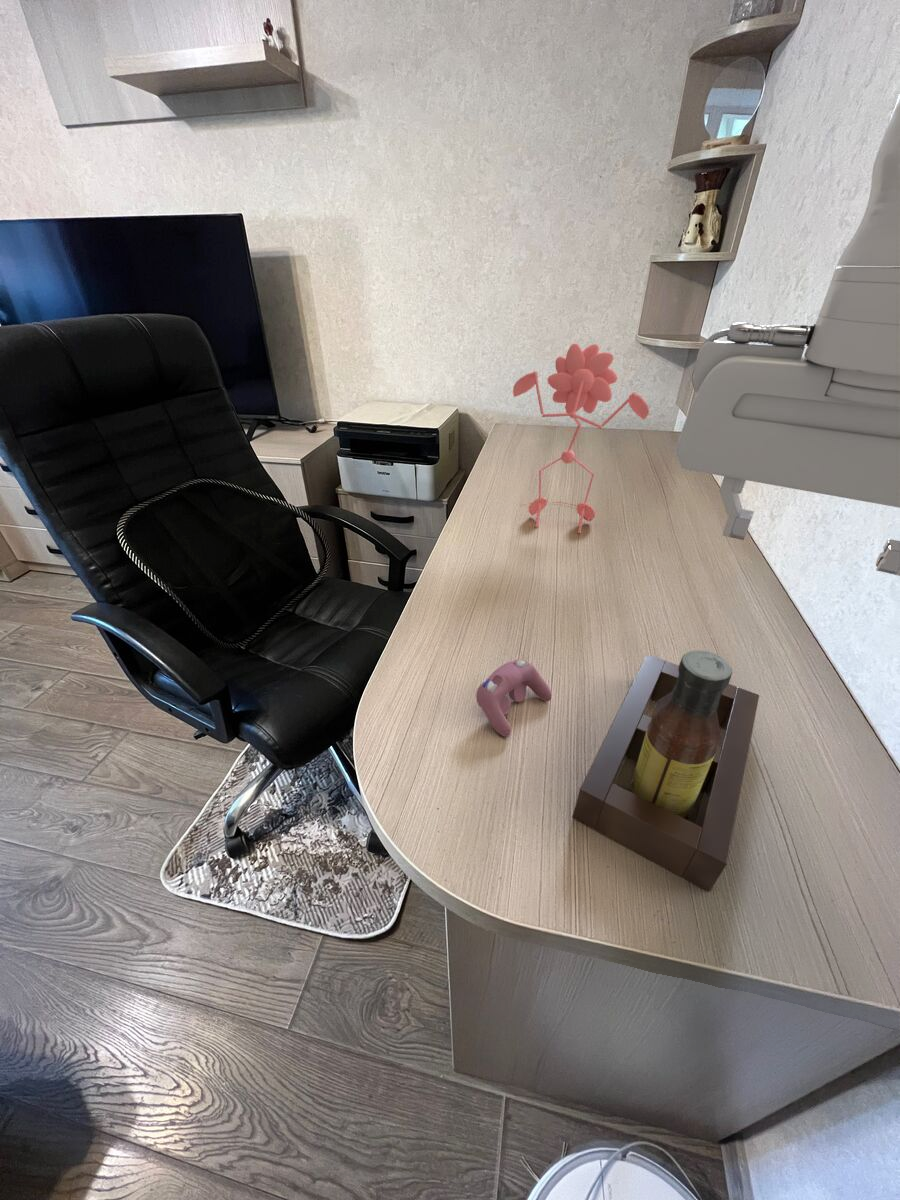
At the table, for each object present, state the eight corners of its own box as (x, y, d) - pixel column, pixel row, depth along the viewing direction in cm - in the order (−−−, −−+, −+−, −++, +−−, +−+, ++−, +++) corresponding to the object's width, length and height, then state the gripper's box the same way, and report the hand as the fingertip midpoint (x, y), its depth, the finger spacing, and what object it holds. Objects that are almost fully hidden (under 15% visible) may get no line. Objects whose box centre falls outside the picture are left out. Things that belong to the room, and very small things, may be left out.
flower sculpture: (620, 541, 103) (664, 354, 83) (497, 524, 109) (511, 345, 88) (621, 511, 115) (659, 341, 95) (510, 497, 121) (524, 334, 101)
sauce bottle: (697, 802, 54) (766, 665, 43) (673, 843, 50) (742, 705, 39) (640, 767, 58) (689, 632, 46) (614, 802, 54) (660, 665, 42)
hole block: (745, 722, 63) (759, 694, 61) (709, 892, 46) (727, 864, 44) (638, 680, 69) (646, 653, 66) (571, 817, 52) (579, 789, 50)
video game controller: (530, 694, 69) (516, 648, 67) (556, 699, 65) (542, 651, 64) (481, 733, 63) (465, 685, 62) (507, 741, 60) (491, 690, 58)
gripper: (696, 324, 30) (645, 532, 38) (1216, 353, 21) (1007, 620, 29) (714, 316, 34) (665, 504, 42) (1151, 337, 25) (985, 572, 33)
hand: (806, 551), depth 35 cm, fingers open, 8 cm apart
